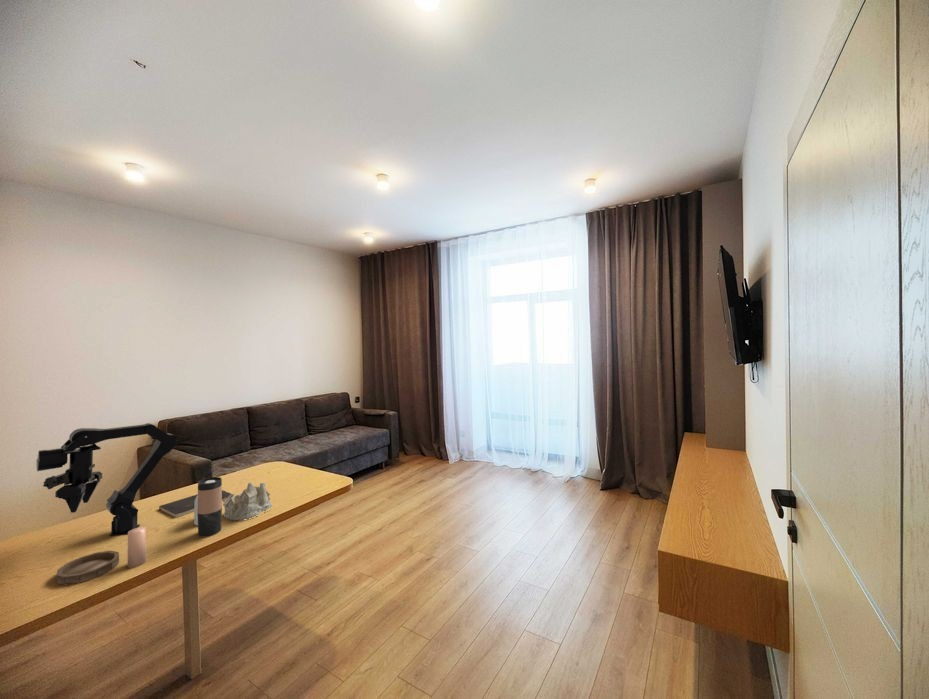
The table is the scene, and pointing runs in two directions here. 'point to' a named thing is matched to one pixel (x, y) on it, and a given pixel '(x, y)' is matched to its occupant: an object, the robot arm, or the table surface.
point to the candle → (136, 547)
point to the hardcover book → (185, 505)
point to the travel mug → (209, 506)
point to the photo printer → (196, 511)
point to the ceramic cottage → (247, 503)
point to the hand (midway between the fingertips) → (79, 507)
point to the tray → (87, 567)
